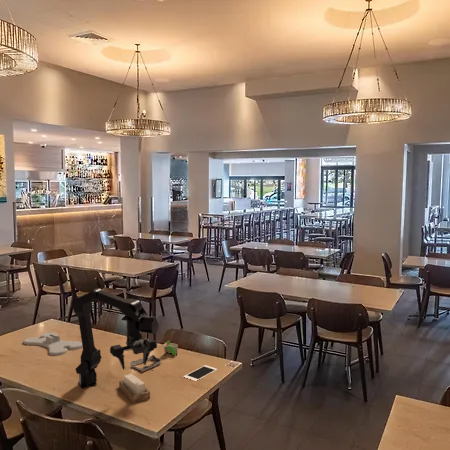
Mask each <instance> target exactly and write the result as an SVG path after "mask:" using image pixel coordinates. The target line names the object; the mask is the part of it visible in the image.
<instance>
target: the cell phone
mask: <svg viewBox="0 0 450 450" xmlns="http://www.w3.org/2000/svg"><path fill="white" fill-rule="evenodd" d="M216 371H218V368H215V367H212V366H209V365H207V364H206V365H202V366H201V367H199V368H197V369H194V370H193V371H191V372H189V373H188V374H184V375H183V376H182V377H183V378H184V377H185V379H187V378H188V380H190V379H191V380H190V381H193V382H198V381H199V379H200V380H201V379H203V378H205V377H207V376H209V375H211V374H212V373H214V372H216ZM210 373H211V374H210ZM197 380H198V381H197Z"/></svg>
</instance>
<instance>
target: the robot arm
mask: <svg viewBox="0 0 450 450" xmlns="http://www.w3.org/2000/svg"><path fill="white" fill-rule="evenodd" d="M94 301H97V302H101V303H103V304H106V305H108V306H111V307H114V308H116V309H118V311H120V312H121V314H123V315H124V316H123V317H122V318H121V321H125V322H126V323H125V324H126V326H125V327H126V329H125V330H126V331H125V335H126V341H125V344H126V346H122V345H120V344H116V345H111V346H110V348H109V353H110V355H112V356H113V357H115V358H116V359H118V361H119V363H120V365H121V369H122V370H125V368H126V367H125V355H124V352H127V351H132V354H134V355H139V354H142V359H143V365H144V366H147V362H148V361H147V359H148V358H149V357H150V353H152V352H153V351H154V350H155V349H157V348H158V342H157V341H156V340H154V339H153V338H151V337H150V338H146V339H143V336H142V333H145V334H146V333H147V334H152V335H153V334H156V333H157V332H158V328H159V322H158V319H156V315H155V316H152V315H151V316H149V315H148V313H147V311H146V309H145V308H144V307H143V305H142V302H141V301H140V300H139V299H134V298H125V297H121V296H118V295H116V294H113V293H110V292H108V291H105V290H103V289H102V288H99V287H98V288H94V289H92V290H90V291H89V292H87V293H85V294H81V295H78V296H76V297H74V298H73V299H72V300H71V307H72V310H73V313H74V314H75V315H76V316H77V318H78V319H77V320H78V325H79V331H80V332H79V334H80V337H81V338H80V340H81V342H82V346H83V347H82V351H81V353H80V354H81V355H80V364H79V365H78V366H77V367H76V368H75V372H76V374H77V375H78V378H79V379H78V380H79V381H78V382H77V383H78V385H79V386H80V388H81V389H85V388H89V387H93V386H96V385H97V381H98V379H97V372H96V369H97V368H98V366H99V365H100V363H101V361H102V360H101V359H102V355H101V349H97V348H96V347H95V342H94V341H95V339H94V335H93V334H94V333H93V327H92V321H91V313H92V309H93V302H94ZM141 332H142V333H141Z"/></svg>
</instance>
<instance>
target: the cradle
mask: <svg viewBox="0 0 450 450" xmlns="http://www.w3.org/2000/svg"><path fill="white" fill-rule="evenodd" d="M118 383H119V385H118V386H119V388H120V389H121V391H122V392H123V393H124V395H125V396H126V397H127V398H128V399H129V401H130V402H131V403H137V402H140V401H145V400H149V399H150V398H151V391H150V390H149V389H148V388H147V386H145V392H144V393H140V394H137V395H135V394H134V393H132V392H131V391H130V390H129V389H128V388H127V387H126V386H125V385H124V379H122V380H121V379H120V380H118Z"/></svg>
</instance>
